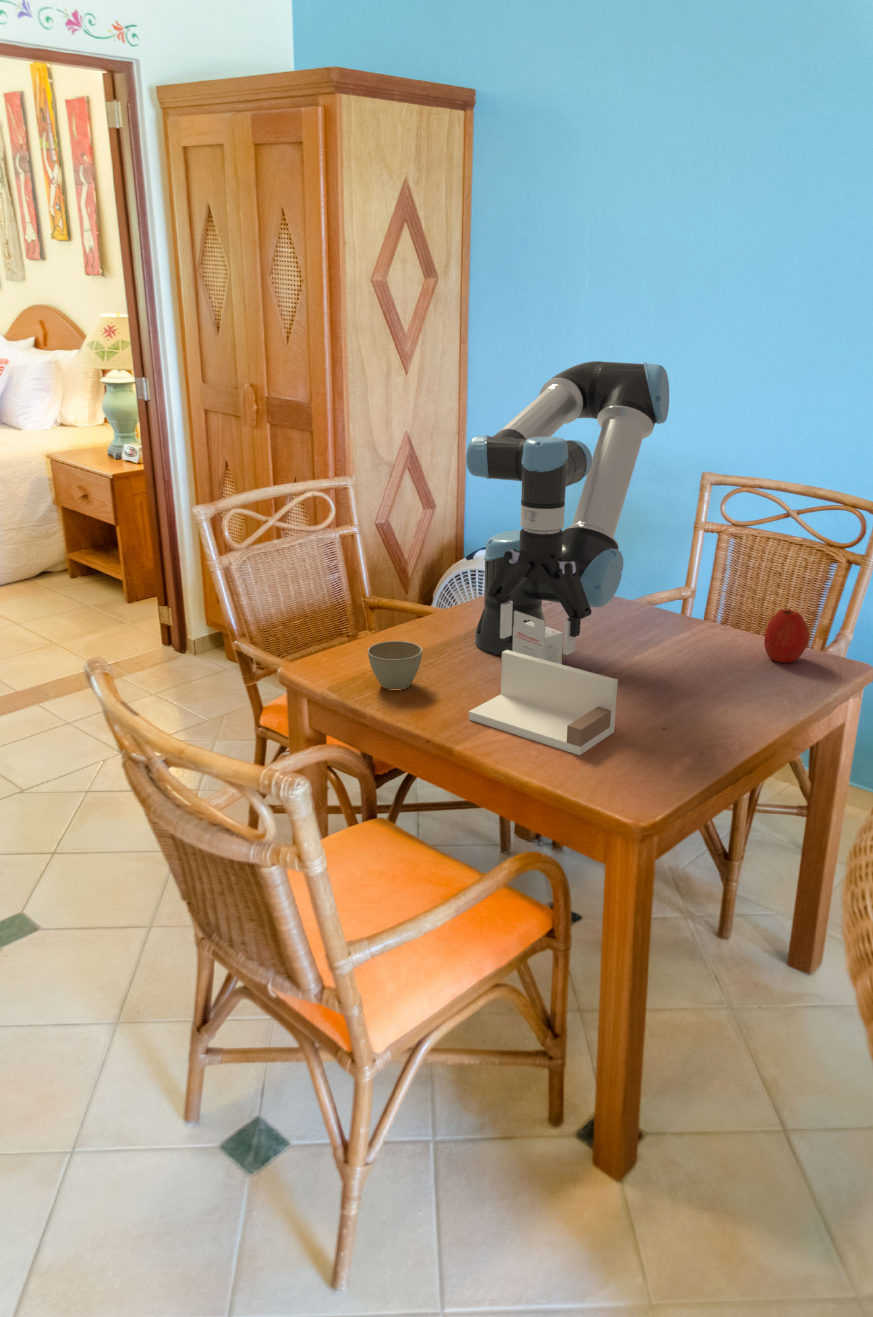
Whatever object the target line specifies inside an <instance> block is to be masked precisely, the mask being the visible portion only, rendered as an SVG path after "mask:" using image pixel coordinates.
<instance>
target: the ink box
mask: <svg viewBox="0 0 873 1317" xmlns="http://www.w3.org/2000/svg"><path fill="white" fill-rule="evenodd" d="M524 620H527V621H528V620H530V622H527V623H524ZM546 626H547V621H546V619H545V620H541V619H538V618H536V617H533V616H530V615H527V614H524V613H521V612H518V611H516V610H515V611H514V626H513V648H512V651H513V652H517V653H521V654H525V655H528V656H532V657H536V658H539V659H543V660H547V661H551V662H554V663H558V664H562V663H563V662H562V661H563V646H564V632H563V631H560V630H557V629H554V628H551V627H549V626H547V627H546ZM562 665H563V664H562Z"/></svg>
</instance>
